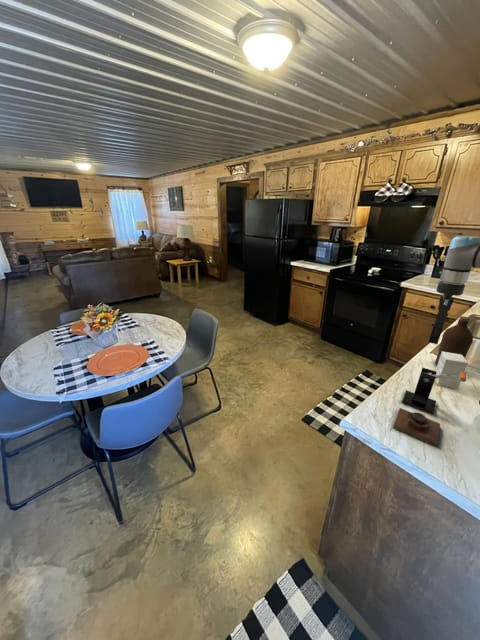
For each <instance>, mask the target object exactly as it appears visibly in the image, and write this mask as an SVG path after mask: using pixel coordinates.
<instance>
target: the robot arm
mask: <svg viewBox="0 0 480 640" xmlns="http://www.w3.org/2000/svg"><path fill="white" fill-rule="evenodd" d="M472 268H473V269H480V237H479V236H472V235H471V236H469V235H457V236H454V237H453V238H452V239H451V242H450V245H449V247H448V248H447V254H446V257H445V261H444V263H443V267H442V270H441V271H439V274H440V276H439V277H440V278H439V280H440V281H438V283H437V287H436V292H437V293H439V294H442V295H443V296H442V295H441V296H440V297H439V301H438V307H437V311H438V312H437V315H436V317H435V320H434V323H431V327H432V329H431V333H430V336H429V339H428V343H429V344H434V345H438V343H439V341H440V338H441V336H442V335H441V334H442V332H443V329H444V325H445V321H446V318H447V317H449V312H450V310H451V307H452V306H453V304H454V301H455V298H453V296H454V297H455V296H456V297H459V296H462V295H463V294H464V291H465V288H466V285H465V284H466V283H468V280H469V276H470V274H471V270H472Z"/></svg>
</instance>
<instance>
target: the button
mask: <svg viewBox="0 0 480 640" xmlns="http://www.w3.org/2000/svg"><path fill="white" fill-rule="evenodd" d="M413 413H414V414H413V417H412V419H413V421H415V422H416V423H419V424H425V421H426V418H427V416H426V415H425V414H423V413H420V412H413Z"/></svg>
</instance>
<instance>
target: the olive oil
mask: <svg viewBox="0 0 480 640" xmlns="http://www.w3.org/2000/svg"><path fill="white" fill-rule="evenodd" d="M469 321H470V317H468V316H464V315H463V316H462V315H461V316H459V319H458V321H457V324H455V325H452V326H450V327H448V328H447V329H446V330H445V331H444V332H443V334H442V335H441V340H440V345H439V348H438V351H437V355H436V359H435V362H434V365H435V366H436V367H437V365H438V362H439V359H440V356H441V353H442V351H443V352H448V353H454V354H461V355H463V357H464V358H465V359H466V357H467V354H468V353H469V350H470V348H471V346H472V344H473V343H474V334H473V333H472V332H471V330H470V329H469V327H468V324H469Z"/></svg>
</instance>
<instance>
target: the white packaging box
mask: <svg viewBox="0 0 480 640" xmlns="http://www.w3.org/2000/svg"><path fill="white" fill-rule="evenodd" d="M468 364H469V363H468V361H467V360H466V357H465V358H464V357H463V355H461V354H454V353H448V352H443V351H442V353H441V356H440V359H439V362H438V365H437V366H436V368H435V370H434V371H436V372H437V373H436V375H460V373H461V372H462V371H464V372H466V369H467V366H468ZM435 382H436V383H435V384H436V385H437V386H443V387H447V388H452V389H455V390H456V389H457V390H458V389H459V387H460V384H461V383H462V381H460V379H435Z"/></svg>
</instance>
